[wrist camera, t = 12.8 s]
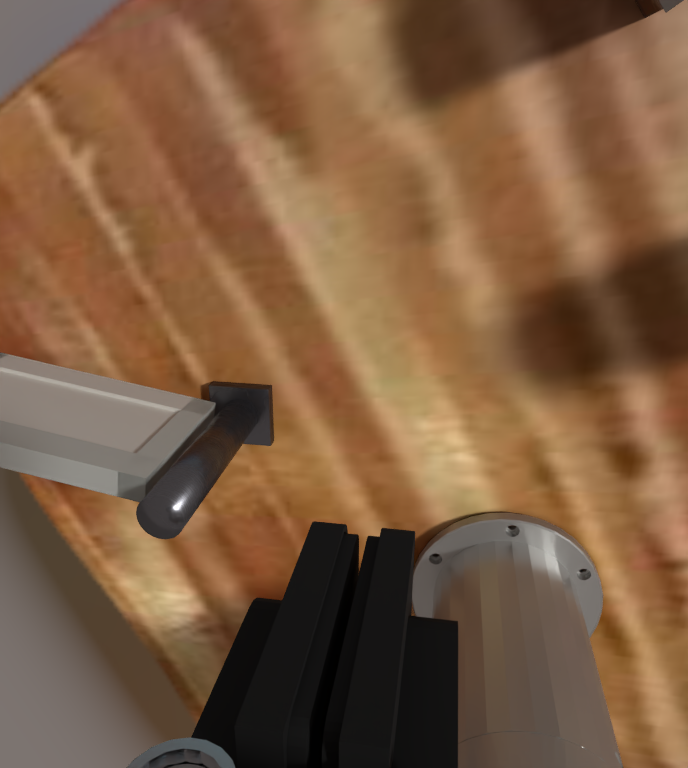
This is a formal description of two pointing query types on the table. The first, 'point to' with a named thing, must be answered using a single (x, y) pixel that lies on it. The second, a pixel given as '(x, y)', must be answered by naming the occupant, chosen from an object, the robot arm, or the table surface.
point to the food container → (656, 6)
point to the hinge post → (208, 456)
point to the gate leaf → (92, 427)
